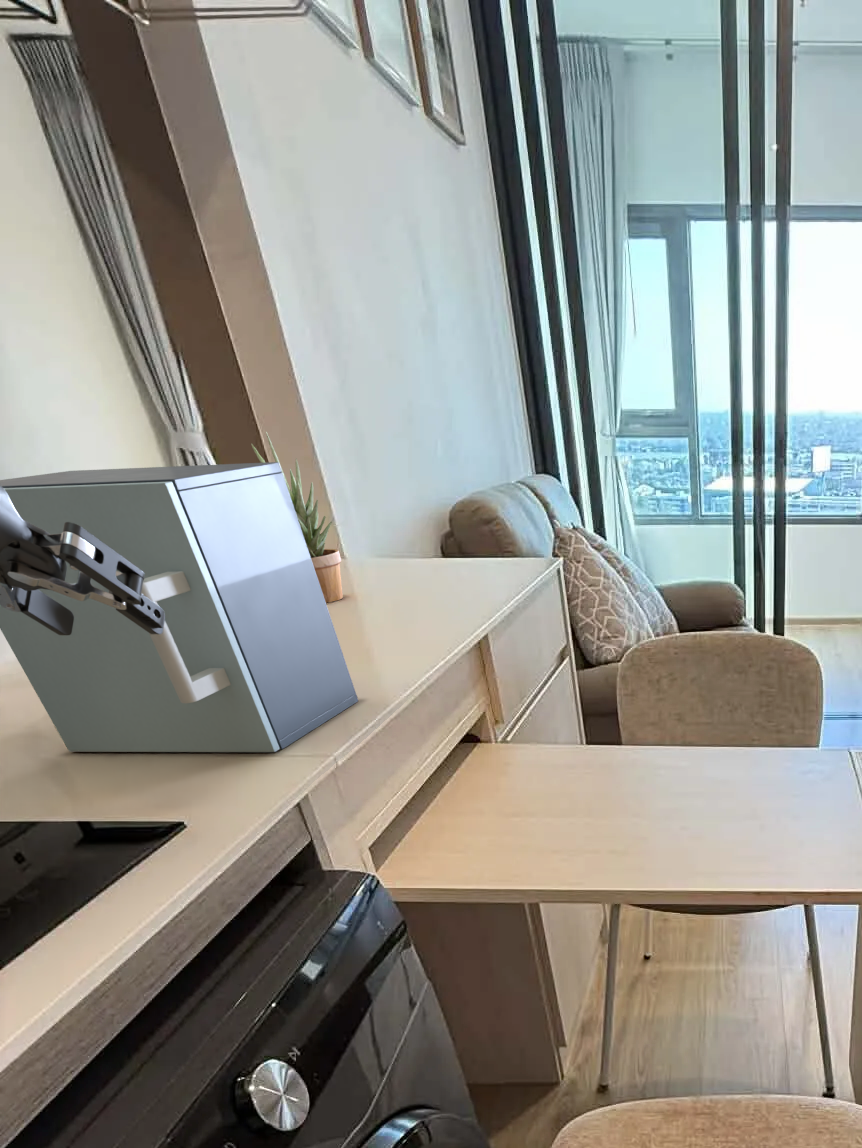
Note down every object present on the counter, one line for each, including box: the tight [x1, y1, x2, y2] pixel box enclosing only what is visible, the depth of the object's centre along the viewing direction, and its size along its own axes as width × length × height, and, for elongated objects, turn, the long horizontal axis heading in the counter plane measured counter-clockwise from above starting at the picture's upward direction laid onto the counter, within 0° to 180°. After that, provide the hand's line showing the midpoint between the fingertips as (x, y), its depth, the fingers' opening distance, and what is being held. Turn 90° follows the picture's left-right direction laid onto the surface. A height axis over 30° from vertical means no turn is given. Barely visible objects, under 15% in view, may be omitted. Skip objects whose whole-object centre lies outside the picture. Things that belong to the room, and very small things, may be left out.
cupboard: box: [0, 461, 359, 750], centre depth 88 cm, size 16×24×24 cm
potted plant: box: [251, 431, 344, 604], centre depth 142 cm, size 10×10×25 cm
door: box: [0, 482, 281, 753], centre depth 79 cm, size 7×24×24 cm, turn 83°
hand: (114, 625), depth 71 cm, fingers open, 8 cm apart
